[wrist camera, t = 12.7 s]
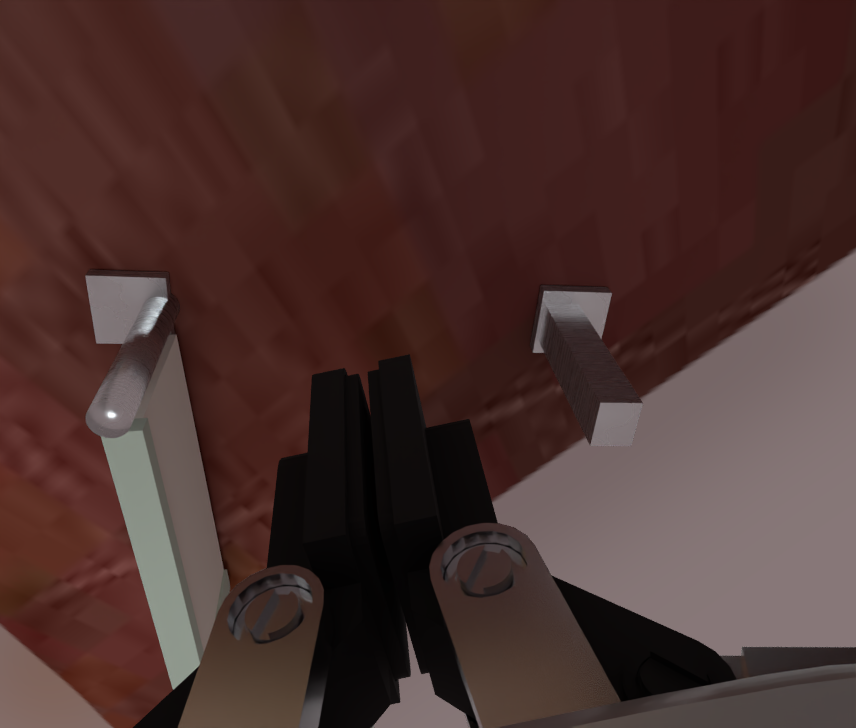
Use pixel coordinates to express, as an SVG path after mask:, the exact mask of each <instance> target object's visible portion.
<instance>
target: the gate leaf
mask: <svg viewBox="0 0 856 728" xmlns="http://www.w3.org/2000/svg"><path fill="white" fill-rule="evenodd" d="M101 438H102V442H103V445H104V449H105V452H106V456H107V459H108V463H109V466H110V470H111V473H112V477H113V480H114V484H115V487H116V491H117V494H118V498H119V502H120V505H121V509H122V512H123V516H124V519H125V523H126V526H127V530H128V533H129V537H130V540H131V544H132V547H133V551H134V554H135V558H136V561H137V565H138V568H139V572H140V575H141V579H142V582H143V586H144V589H145V593H146V596H147V600H148V603H149V607H150V610H151V614H152V618H153V621H154V625H155V628H156V632H157V635H158V639H159V642H160V646H161V649H162V653H163V656H164V660H165V663H166V667H167V670H168V674H169V677H170V681H171V684H172V688H173V690H174V689H175V688H176V687H177V686H178V685H179V684H180V683H181V682H182V681H183V680H184V679H186V678H187V677H188V676H189V675H190V674H191V673H192V672H193V671H194V670H195V669H196V668H197V667H198V666H199V665H200V662H201V659H202V656H203V653H204V651H205V648H206V645H207V642H208V639H209V636H210V633H211V630H212V628H213V625H214V622H215V619H216V616H217V613H218V611H219V609H220V607H221V605H222V603H223V601H224V599H225V598H226V597H227V595H228V594H229V591H230V582H229V577H228V572H227V569H226V570H224V568H223V563H222V558H221V553H220V548H219V543H218V538H217V533H216V528H215V523H214V518H213V513H212V508H211V503H210V498H209V493H208V488H207V483H206V479H205V474H204V469H203V464H202V459H201V454H200V449H199V444H198V439H197V434H196V429H195V424H194V419H193V414H192V409H191V404H190V399H189V394H188V389H187V384H186V379H185V374H184V369H183V364H182V359H181V354H180V350H179V345H178V340H177V335H169V337H168V339H167V341H166V344H165V346H164V348H163V351H162V353H161V356H160V358H159V360H158V363H157V365H156V368H155V370H154V372H153V375H152V377H151V380H150V382H149V384H148V387H147V389H146V391H145V394H144V396H143V399H142V401H141V403H140V406H139V408H138V411H137V413H136V415H135V418H134V420H133V422H132V425H131V427H130V429H129V431H128V432H127V433H126V434H125V435H123V436H121V437H118V438H105V437H102V436H101Z"/></svg>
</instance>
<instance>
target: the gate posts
mask: <svg viewBox="0 0 856 728" xmlns="http://www.w3.org/2000/svg"><path fill="white" fill-rule="evenodd" d="M85 276H86V283H87V289H88V295H89V301H90V307H91V313H92V319H93V325H94V331H95V338H96V343H107V344H122V346H121V348H120V350H119V352H118V354H117V356H116V358H115V360H114V362H113V363H112V365H111V367H110V369H109V371H108V373H107V375H106V377H105V379H104V381H103V383H102V384H101V386H100V388H99V390H98V392H97V394H96V396H95V398H94V400H93V402H92V404H91V406H90V407H89V409H88V411H87V413H86V423H87V425H88V427H89V428H90V429H91V430H92V431H93V432H94V433H95V434H97V435H99V436H102V437H105V438H118V437H121V436H123V435H125V434H126V433H127V432H128V431H129V429H130V427H131V425H132V422H133V420H134V418H135V415H136V413H137V411H138V408H139V406H140V403H141V401H142V399H143V396H144V394H145V391H146V389H147V387H148V384H149V382H150V380H151V377H152V375H153V372H154V370H155V368H156V365H157V363H158V360H159V358H160V356H161V353H162V351H163V348H164V346H165V344H166V341H167V339H168V337H169V335H175V330H174V322H175V320H176V317H177V315H178V313H179V309H180V305H179V302H178V300H177V298H176V297H175V296H174V295H172V294H171V290H170V280H169V272H149V271H120V270H91V269H90V270H89V271H88V273H87V274H86V275H85ZM611 295H612V292H611V291H610V290H609V289H608V287H586V286H557V285H540V291H539V297H538V302H537V308H536V314H535V320H534V325H533V331H532V337H531V342H530V347H531V350H532V352H533V353H545V355H546V357H547V359H548V361H549V363H550V365H551V367H552V369H553V372H554V374H555V376H556V378H557V380H558V382H559V384H560V386H561V388H562V390H563V392H564V394H565V396H566V398H567V400H568V402H569V404H570V406H571V408H572V410H573V412H574V414H575V416H576V418H577V420H578V422H579V424H580V426H581V428H582V430H583V432H584V434H585V436H586V438H587V440H588V442H589V444H590V446H631V444H632V441H633V437H634V433H635V430H636V426H637V423H638V419H639V415H640V411H641V408H642V405H643V402H642V401H641V399H640V398H639V396H638V395H637V393H636V392H635V390H634V389H633V387H632V386H631V384H630V382H629V381H628V379H627V378H626V376H625V375H624V373H623V372H622V370H621V369H620V367H619V366H618V364H617V363H616V361H615V359H614V358H613V356H612V355H611V353H610V352H609V350H608V349H607V347H606V346H605V344H604V343H603V341H602V339H601V338H602V334H603V330H604V325H605V321H606V317H607V312H608V308H609V304H610V299H611Z"/></svg>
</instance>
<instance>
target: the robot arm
mask: <svg viewBox="0 0 856 728" xmlns="http://www.w3.org/2000/svg"><path fill="white" fill-rule="evenodd" d="M368 383H369V398H370V412H371V416H370V412H369V409H368V405H367V401H366V398H365V394H364V390H363V386H362V383H361V379H360V376H359V374H355V375H350V376H348V375H347V372H346V370H345V368H343V369H338V370H333V371H328V372H323V373H319V374H314V375H312V386H311V404H310V421H309V439H308V453H304V454H299V455H295V456H290V457H285V458H281V460H280V461H279V465H278V472H277V481H276V490H275V499H274V508H273V517H272V526H271V535H270V544H269V553H268V562H267V568H266V569H264V570H261V571H259V572H257V573H255V574H252V575H250V576H249V577H247V578H246V579H245V580H243V581H242V582H241V583H239V584H238V585H236V587H235V588H234V589H233V590H232V591H231V592H230V593H229V594H228V595H227V597H226V598H225V599H224V601H223V603H222V605H221V607H220V609H219V611H218V613H217V616H216V619H215V622H214V625H213V628H212V630H211V633H210V636H209V639H208V642H207V645H206V648H205V651H204V653H203V656H202V659H201V662H200V665H199V666H198V667H197V668H196V669H195V670H194V671H193V672H192V673H191V674H190V675H189V676H188V677H187V678H186V679H184V680H183V681H182V682H181V683H180V684H179V685H178V686H177V687H176V688H175V689H174V690H173V691H172V692H171V693H169V694H168V695H167V696H166V697H165V698H164V699H163V700H162V701H161V702H160V703H159V704H158V705H157V706H156V707H155V708H153V709H152V710H151V711H150V712H149V713H148V714H147V715H146V716H145V717H144V718H143V719H142V720H141V721H140V722H138V723H137V724H136V725H135V726H134V727H133V728H375V727H374V724H375V723H376V721H377V720H378V719H379V718H380V717H381V715H382V714H383V713H384V712H385V711H386V709H387V708H388V707H389V705H391V704H395V703H400V693H399V682H398V679H401V678H406V677H410V675H411V671H410V660H409V650H408V641H407V631H406V624H407V627H408V631H409V634H410V638H411V641H412V644H413V648H414V651H415V655H416V658H417V662H418V665H419V669H420V672H421V674H425V673H430V677H431V681H432V684H433V688H434V692H435V695H437V696H438V697H440V698H442V699H443V700H445V701H446V702H448V703H450V704H451V705H453V706H454V707H456V708H457V709H459V710H461V711H462V712H464V713H465V717H466V721H467V725H468V728H856V647H742V653H741V656H719V655H718V654H717V653H716V652H715V651H714V650H712V649H710V648H709V647H707V646H705V645H704V644H702V643H700V642H699V641H697V640H694V639H692V638H690V637H687V636H686V635H683V634H681V633H679V632H677V631H674V630H672V629H670V628H667V627H666V626H663V625H661V624H659V623H657V622H654V621H652V620H650V619H647V618H645V617H643V616H641V615H638V614H636V613H634V612H632V611H630V610H627V609H625V608H623V607H621V606H618V605H616V604H614V603H612V602H609V601H607V600H605V599H603V598H601V597H598V596H596V595H594V594H592V593H589V592H587V591H585V590H583V589H580V588H578V587H576V586H574V585H571V584H569V583H567V582H565V581H563V580H560V579H558V578H555V577H554V576H552V575H551V574H550V572H549V570H548V568H547V566H546V565H545V563H544V561H543V559H542V557H541V556H540V554H539V552H538V550H537V548H536V546H535V545H534V544H533V542H532V541H531V540H530V539H529V538H528V536H527V535H526V534H524V533H522V532H521V531H519V530H517V529H516V528H514V527H511V526H507V525H503V524H500V523H497V519H496V515H495V512H494V508H493V504H492V501H491V497H490V493H489V490H488V486H487V482H486V479H485V475H484V471H483V468H482V464H481V460H480V456H479V453H478V449H477V445H476V442H475V438H474V434H473V431H472V427H471V424H470V420H469V419H466V420H462V421H457V422H452V423H447V424H442V425H438V426H433V427H428V428H426V425H425V420H424V416H423V411H422V407H421V402H420V398H419V393H418V389H417V384H416V380H415V375H414V371H413V366H412V362H411V358H410V354H409V355H405V356H400V357H395V358H390V359H385V360H381V361H379V370H374V371H369V372H368Z"/></svg>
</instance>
